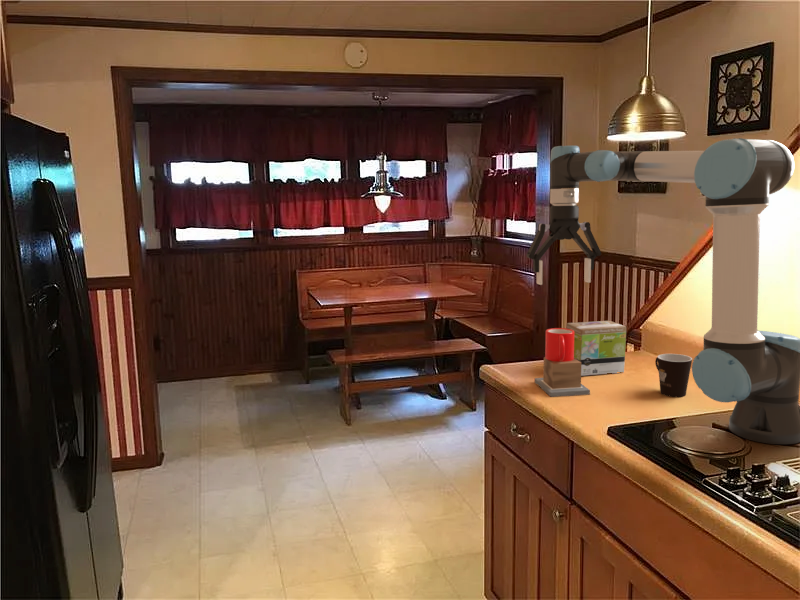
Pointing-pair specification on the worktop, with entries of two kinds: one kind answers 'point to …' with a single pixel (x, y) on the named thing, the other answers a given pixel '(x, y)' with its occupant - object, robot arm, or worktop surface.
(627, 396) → the worktop surface
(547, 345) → the mug
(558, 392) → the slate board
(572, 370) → the walnut block
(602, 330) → the tea box
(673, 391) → the coffee mug
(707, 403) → the worktop surface
